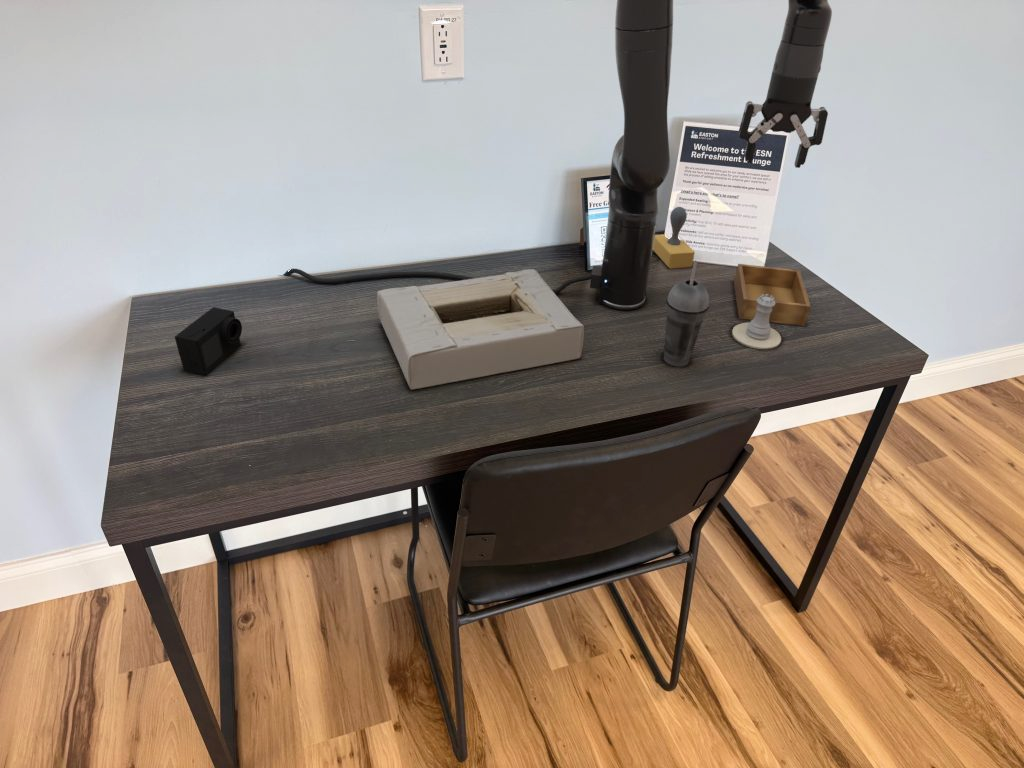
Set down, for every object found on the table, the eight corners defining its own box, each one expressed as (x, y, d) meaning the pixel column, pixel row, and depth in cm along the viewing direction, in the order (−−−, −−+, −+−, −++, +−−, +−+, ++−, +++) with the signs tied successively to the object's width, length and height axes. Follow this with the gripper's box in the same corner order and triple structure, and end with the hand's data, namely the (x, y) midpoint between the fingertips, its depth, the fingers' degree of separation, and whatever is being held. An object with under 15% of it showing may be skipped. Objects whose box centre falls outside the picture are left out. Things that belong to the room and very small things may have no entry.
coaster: (733, 346, 136) (734, 344, 135) (730, 321, 143) (730, 320, 143) (783, 352, 135) (784, 350, 134) (777, 327, 142) (778, 325, 142)
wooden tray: (738, 318, 144) (743, 298, 142) (733, 282, 157) (738, 263, 154) (804, 326, 142) (811, 306, 140) (794, 288, 155) (799, 270, 152)
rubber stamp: (651, 249, 169) (659, 199, 162) (674, 247, 170) (683, 198, 163) (668, 268, 161) (677, 217, 154) (692, 266, 162) (702, 215, 155)
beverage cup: (699, 353, 133) (721, 252, 122) (694, 374, 128) (716, 271, 116) (659, 345, 135) (677, 245, 123) (652, 365, 129) (670, 263, 118)
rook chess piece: (767, 343, 136) (778, 305, 132) (743, 337, 138) (752, 299, 133) (771, 331, 140) (781, 294, 135) (747, 326, 141) (757, 289, 136)
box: (533, 298, 148) (377, 322, 138) (536, 264, 144) (374, 286, 133) (583, 360, 131) (409, 393, 121) (588, 324, 126) (407, 354, 116)
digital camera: (211, 377, 122) (202, 342, 118) (183, 371, 123) (173, 336, 119) (247, 346, 130) (240, 311, 126) (220, 340, 132) (212, 306, 127)
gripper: (835, 68, 127) (809, 161, 136) (751, 62, 129) (731, 154, 138) (843, 79, 121) (816, 175, 130) (754, 72, 123) (734, 167, 132)
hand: (772, 164), depth 134 cm, fingers open, 8 cm apart
